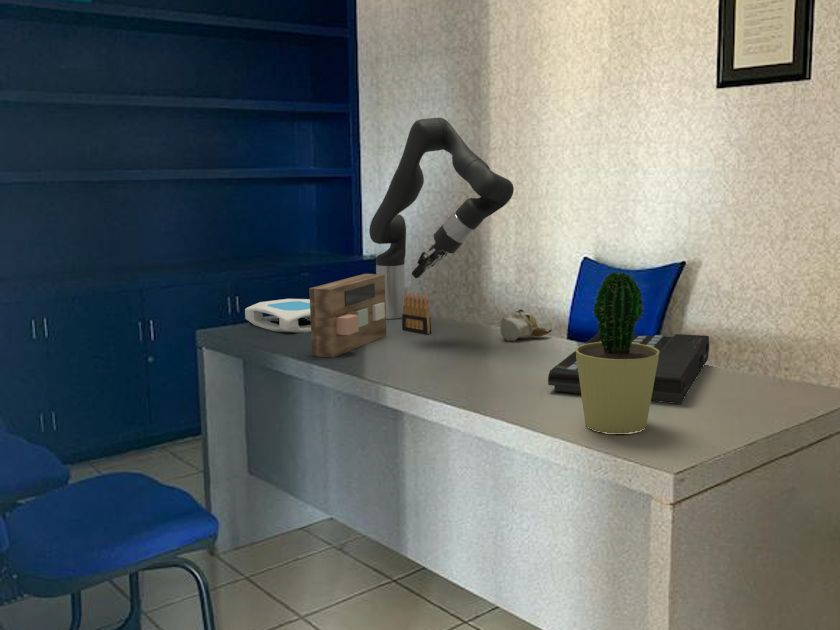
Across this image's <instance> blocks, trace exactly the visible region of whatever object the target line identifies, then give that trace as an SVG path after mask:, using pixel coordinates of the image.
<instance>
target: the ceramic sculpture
mask: <svg viewBox="0 0 840 630" xmlns="http://www.w3.org/2000/svg"><path fill="white" fill-rule="evenodd" d="M499 327H500V335H501V337H502V338H503V339H504V340H506V341H507V342H515V341H516V340H517V339H521V340H526V339H530V338H531V337H538V338H540V337H543V336H545V335H547V334H549V333H551V332H552V331H553V329H546V328H544V327H540V326H538V325H537V320H536V318H535V317H534V315H532V314H530V313H528V312H524V310H523V309H518V310H516V311H514V313H513V315H512V316H511V317H506V316H502V317H501V320H500V325H499Z"/></svg>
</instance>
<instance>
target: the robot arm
mask: <svg viewBox="0 0 840 630" xmlns="http://www.w3.org/2000/svg"><path fill="white" fill-rule="evenodd" d="M407 135H408V136H407V139H406V143H405V146H404V149H403V153H402V156H401V157H400V161H399V163H398V166H397V167H396V170H395V172H394V174H393V176H392V179H391V180H390V183H389V187H388V189H387V191H386V193H385V196H384V198H383V200H382V202H381V203H380V205H379V207H378V208H377V210H376V212H375V213H374V215H373V217H372V218H371V221H370V224H369V238H370V240H371V241H372V242H373V243H375V244H378V245H387V244H389V245H390V246H389V248H388V249H387V250H385V251H383V253H380V254H377V256H376V257H375V264H376V265H375V269H376V274H382V275H385V303H386V320H391V319H392V320H394V319H395V320H397V319H402V314H403V301H404V292H405V291H406V293H407V299H408V293H409V289H408V288H409V287H408V286H406V271H405V268H406V267H405V266H406V265H405V260H406V251H407V249H406V248H407V247H406V245H407V224H406V220H405V218H404V216H402V214H400V213H401V212H403V211H404V210H406V209H407V208H409V207H410V206H411V205H412V204H413V203H414V202H415V201H416V200H417V199H418V197H419V194H420V192H421V190H422V188H423V186H424V183H425V179H424V178H425V177H424V176H425V175H424V174H423V173H424V172H423V170H422V167H421V165H420V162H421V160H422V158H423V156H424V154H425V153H428V152H435V151H436V152H439V151H442V150H443V151H446V152H447V153H449V154H450V155H451V160H452V161H451V162H452V163H451V164H452V166H453V169H454V171H456V173H457V174H458V175H459V176H460V177H461V178H462V179H463V180H464V181H466V183H468V184H469V186H470V187H471V189H472V190H473V191H474V192H475V193H476V194H477V195H478V196H479V197H478V198H477V197H475V198H474V197H470V198H467V199H465V200H464V202H463V203H462V204H461V205H460V206H459V207H458V208H457V209H456V211H454V212H453V213H452V214H451V215H450V216H449V217H448V218H447V219H446V220H445V221H444V222H443V223H442V224H441V225H440V227H439V228H438V229H437V230H436V231H435V232H434V233H433V240H434V244H430V245H429V247H428V248H427V250H426V251H422V252H421V253H420V256H419V258H418V261H417V264H418V265H417V266H416V267H415V268H414V270H412V271H411V275H412V276H413V277H414V278H415V279H418V278H421V277H422V275H423V274H424V273H425V272H426V271H427V270H429V269H430V268H433V267H434V266H435V265H436V264H438V263H439V262H440V261H441V260H442V259H444V258H445V257H446V256H447V255H448V254H455V253H456V252H457V250H459V249H460V248H461V246H462V245H463V244H464V243H465V242H467V240H468V239H469V238H470V237H471V235H472V234H473V233H474V231H475V230H476V229H477V227H479V226H480V225H481V223H482V222H483V221H484V220H485V219H486V218H488V217H489V216H492V215H493V214H494V213H496V212H498V211H499V210H500V209H502V208H503V207H505V206H506V205H507V204H509V202H510V201H511V199H512V197H513V195H514V191H515V190H514V189H515V188H514V184H513V183H512V181H511V180H509V179H508V178H506V177H504V176H502V175H500V174H498V173H496V172H494V171H492V170H491V168H490V166H489V165H488V163H486V162H485V161H484V160H483V159H482V158H481V157H479V156H478V155H477V154H476V153H475V152H474V151H472V149H471V148H470V147H468V145H467V144H466V142H465V141H464V140H463V139H462V137H461V136H460V135H459V133H458V131H456V129H455V128H454V127H453V125H452V124H451V123H450V122H449V121H448V120H447V119H446V118H444V117H429V118H421V119H417V120H415V122H413V124H412V125H411V128H410V130H409V133H408V134H407Z"/></svg>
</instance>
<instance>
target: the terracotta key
mask: <svg viewBox="0 0 840 630" xmlns="http://www.w3.org/2000/svg"><path fill="white" fill-rule="evenodd" d="M358 331H359V325H358V315H350V314H343V315H340V316H337V317H336V334H340V335H350V334H353V333H355V332H358Z"/></svg>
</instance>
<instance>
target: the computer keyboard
mask: <svg viewBox="0 0 840 630" xmlns="http://www.w3.org/2000/svg"><path fill="white" fill-rule="evenodd" d="M598 335H599V333H598V334H597V333H596V334H595V335H594V336H593V337H591V338H590V339H588V341H585V342H584V344H588V343H596V342H597V341H598V342H601V341H600V340H601V339H600V337H599V336H598ZM597 336H598V337H597ZM632 341H633V342H632V343H637V344H643V345H648V346H651V347H654V348H656V349H658V350H659V358H658V364H657V369H656V375H655V380H654V386H653V391H652V397H651V402H658V401H662V402H661V403H668V402H672V403H671V404H678V403H681V402H682V401H683V402H684V400H685V398H686V397H685V396H687V395H688V393H689V392H688V390H689V389H690V390H691V388H692V387H693V385H694V383H695V382H694V381H696V380H697V378H698V377H699V375H700V373H701V372H700V371H702V370H703V368H704V367H703V365H704V366H706V365H705V364H706V363H707V362H708V360H709V354H710V336H709V335H703V334H702V335H701V334H683V333H675V334H673V336H666V335H665V336H664V335H661V334H656V335H642V334H641V335H639V334H638V335H637V334H633V337H632ZM701 369H702V370H701ZM699 372H700V373H699ZM698 374H699V375H698ZM697 376H698V377H697ZM696 377H697V378H696ZM695 379H696V380H695ZM693 382H694V383H693ZM547 384H548V386H554V391H555V392H558V393H568V394H579V395H581V388H580V381H579V373H578V366H577V359H576V352H575V350H574V351H573V352H571V354H569V355H568V356H567V357H565V358H564V359H563V360H562V361H560V362H559V363H558V364H556V365H555V366H554V367H552V369H550V370H549V373H548V377H547ZM692 384H693V385H692ZM691 386H692V387H691ZM690 387H691V388H690ZM690 390H689V391H690ZM687 392H688V393H687ZM686 394H687V395H686ZM684 397H685V398H684ZM683 399H684V400H683ZM673 402H674V403H673ZM683 402H682V403H683ZM682 403H681V404H682Z"/></svg>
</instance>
